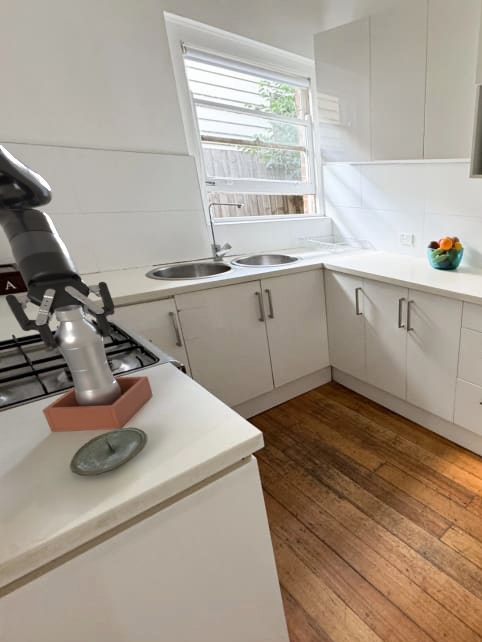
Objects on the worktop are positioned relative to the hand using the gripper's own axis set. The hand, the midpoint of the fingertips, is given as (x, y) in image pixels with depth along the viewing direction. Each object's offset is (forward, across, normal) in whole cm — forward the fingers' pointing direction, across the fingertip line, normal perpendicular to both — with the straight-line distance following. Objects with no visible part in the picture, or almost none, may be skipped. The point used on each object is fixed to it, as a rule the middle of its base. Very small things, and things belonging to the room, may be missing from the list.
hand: (81, 340), depth 67 cm
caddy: (+10, 0, +12) cm, 16 cm away
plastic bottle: (+9, 0, +11) cm, 15 cm away
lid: (+22, -3, +1) cm, 22 cm away
